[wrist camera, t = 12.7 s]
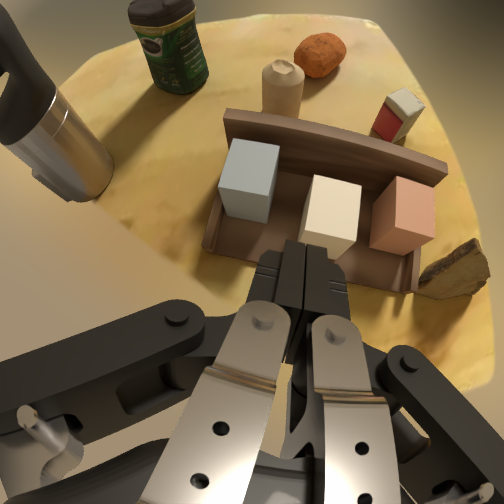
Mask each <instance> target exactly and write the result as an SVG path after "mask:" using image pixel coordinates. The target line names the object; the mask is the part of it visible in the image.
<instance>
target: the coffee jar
mask: <svg viewBox="0 0 504 504" xmlns="http://www.w3.org/2000/svg"><path fill="white" fill-rule="evenodd" d="M195 14H196V7H195V4H194V2H193V0H134V1H132V2H131V3H130V6H129V8H128V16H129V20H130V24H131V26H132V27H133V29H134V31H135V32H136V34H137V36H138V38H139V40H140V42H141V45H142V48H143V51H144V54H145V56H146V59H147V62H148V65H149V68H150V72H151V75H152V78H153V80H154V83H155V85H156V86H157V87H159V88H161V89H163V90H165V91H168V92H171V93H175V94H180V95H183V94H187V93H190V92H192V91H194V90H196V89H197V88H199V87H200V86H201V85H202V84H203V83H204V82H205V81H206V79H207V78H208V76H209V71H208V67H207V63H206V59H205V56H204V53H203V50H202V47H201V44H200V40H199V36H198V33H197V29H196V24H195Z"/></svg>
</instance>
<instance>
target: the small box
mask: <svg viewBox="0 0 504 504" xmlns="http://www.w3.org/2000/svg"><path fill="white" fill-rule="evenodd" d="M424 108H425V105H424V104H423V103H422V102H421V101H420V100H419V99H418V98H417V97H416V96H415V95H414V94H413V93H412V92H410V91H409V90H408V89H407V88H406V87H404V88H401V89H399V90H397V91H395V92H393V93H391V94H389V95H387V97H386V99H385V101H384V103H383V105H382V107H381V109H380V111H379V113H378V115H377V117H376V119H375V122H374V124H373V126H372V128H373V129H374V130H375V131H376V132H377V133H378V134H379V135H380V136H381V137H382V138H383V139H384V140H385V141H386V142H390V143H395V142H397V141H398V140H399V139H401V138H402V137H404V136H405V135H407V133H408V132H409V130H410V129H411V127H412V126H413V124H414V123H415V121H416V120H417V118H418V117H419V115H420V114H421V112H422V111H423V109H424Z"/></svg>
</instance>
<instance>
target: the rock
mask: <svg viewBox="0 0 504 504" xmlns="http://www.w3.org/2000/svg"><path fill="white" fill-rule="evenodd" d="M488 277H490V271H489V267H488V262H487V259H486V257H485V256H484V254H483V252H482V249H481V247H480V244H479V241H478V240H477V239H476V238H473V239H471V240H469V241H467V242H466V243H464V244H462V245H460V246H459V247H458V248H456V249H455V250H454V251H453V252H452V253H450V254H449V255H448V256H446V257H444V258H441V259H440V260H437V261H435V262H433V263H432V264H430V265H428V266H427V267H426V269H425V270H424V271H423V273H422V274H421V276H420V278H419V281H418V290H417V292H415V294H416V295H419V294H422V295H425V296H428V297H430V298H435V299H436V300H437V299H447V298H451V297H452V296H459V295H462V294H468V295H474V294H475V293H477V292H478V291H479V290H480V288H482V287H483V286H484V285H485V284H486V280H487V279H488Z"/></svg>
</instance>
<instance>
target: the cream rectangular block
mask: <svg viewBox="0 0 504 504" xmlns="http://www.w3.org/2000/svg"><path fill="white" fill-rule="evenodd" d="M361 187H362V186H360V185H356V184H352V183H348V182H344V181H340V180H336V179H332V178H328V177H324V176H319V175H315V174H314V177H313V180H312V183H311V186H310V189H309V192H308V195H307V198H306V201H305V204H304V208H303V214H302V219H301V225H300V230H299V235H298V240H297V242H302V243H306V245H307V244H311V245H316V246H320V247H325V248H327V254H328V258H329V259H334V260H336V259H337V258H339V257H340V256H341V255H342V254H343V253H344V252H345V251H346V250H347V249H348V248H349V247H350V246H352V245H353V244H354V243H355V242H356V237H357V228H358V219H359V209H360V199H361Z"/></svg>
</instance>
